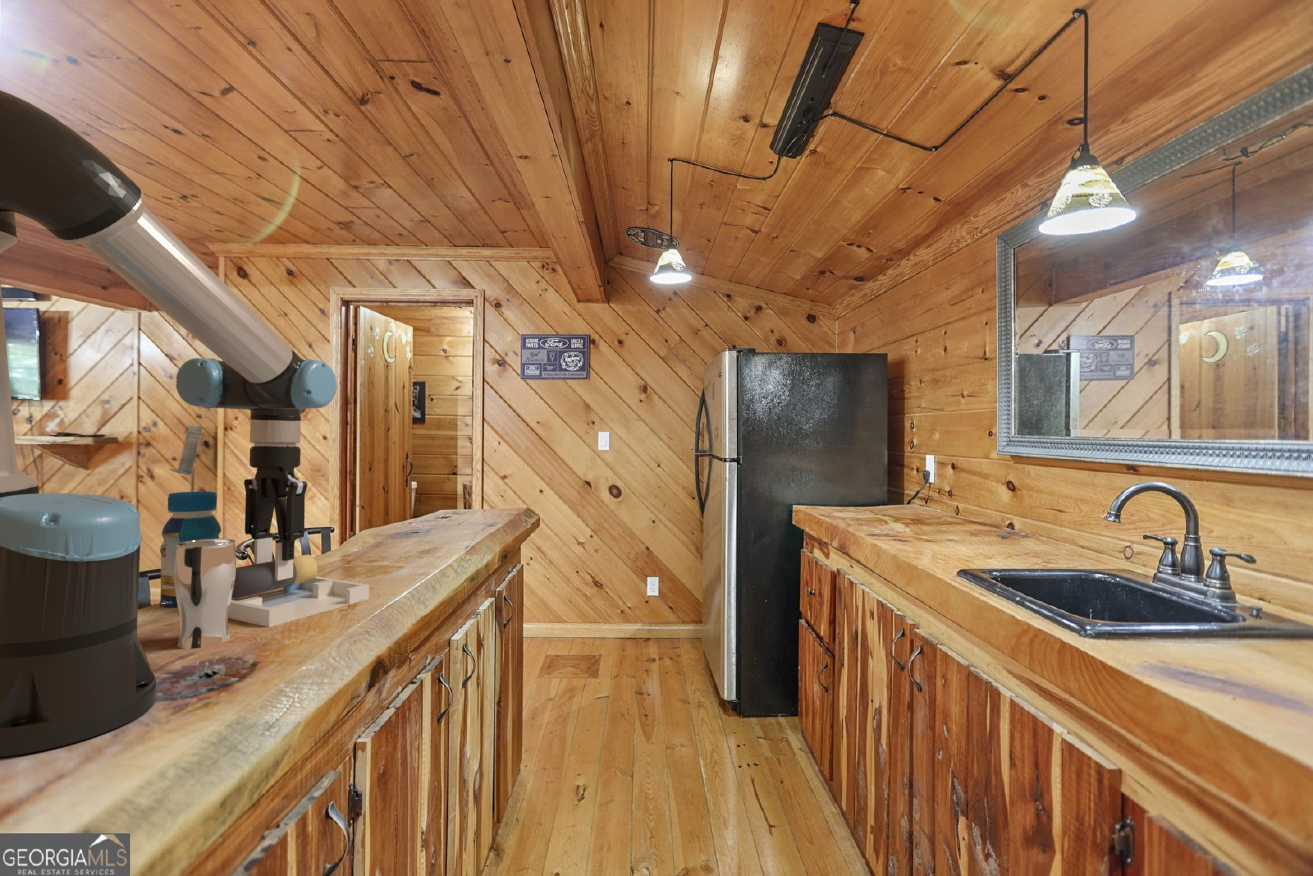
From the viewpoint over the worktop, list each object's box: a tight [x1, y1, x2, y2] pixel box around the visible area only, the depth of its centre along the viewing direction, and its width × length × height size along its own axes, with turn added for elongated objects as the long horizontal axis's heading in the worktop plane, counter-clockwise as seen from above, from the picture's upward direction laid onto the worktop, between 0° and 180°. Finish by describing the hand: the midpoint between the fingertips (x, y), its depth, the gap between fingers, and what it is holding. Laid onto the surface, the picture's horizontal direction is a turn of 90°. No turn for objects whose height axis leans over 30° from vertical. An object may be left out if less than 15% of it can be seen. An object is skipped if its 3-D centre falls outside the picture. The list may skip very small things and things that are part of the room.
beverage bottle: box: [159, 490, 222, 609], centre depth 102 cm, size 8×8×20 cm
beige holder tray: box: [228, 575, 370, 628], centre depth 101 cm, size 18×18×4 cm
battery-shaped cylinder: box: [232, 554, 319, 599], centre depth 103 cm, size 13×5×5 cm, turn 157°
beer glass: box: [174, 538, 237, 650], centre depth 82 cm, size 7×7×15 cm
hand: (273, 576), depth 103 cm, fingers closed on battery-shaped cylinder, 5 cm apart
